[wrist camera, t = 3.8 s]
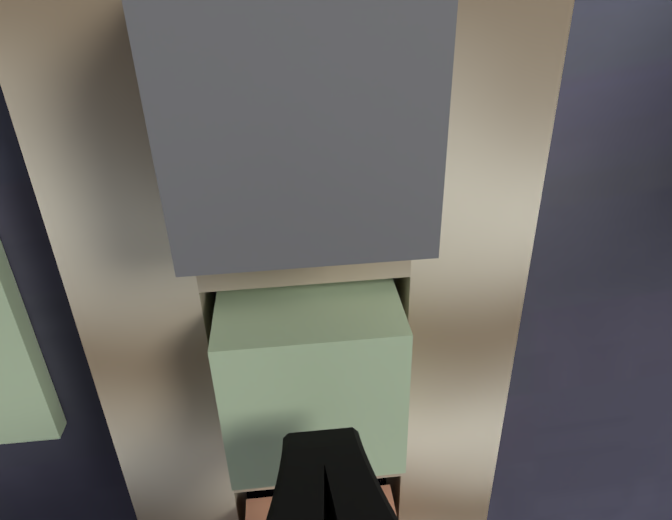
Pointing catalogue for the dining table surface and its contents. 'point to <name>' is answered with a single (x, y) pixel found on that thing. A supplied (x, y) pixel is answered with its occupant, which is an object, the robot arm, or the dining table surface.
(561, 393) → the dining table surface
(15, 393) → the tile
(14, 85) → the key console
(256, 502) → the key terracotta
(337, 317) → the key sage
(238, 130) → the key charcoal
